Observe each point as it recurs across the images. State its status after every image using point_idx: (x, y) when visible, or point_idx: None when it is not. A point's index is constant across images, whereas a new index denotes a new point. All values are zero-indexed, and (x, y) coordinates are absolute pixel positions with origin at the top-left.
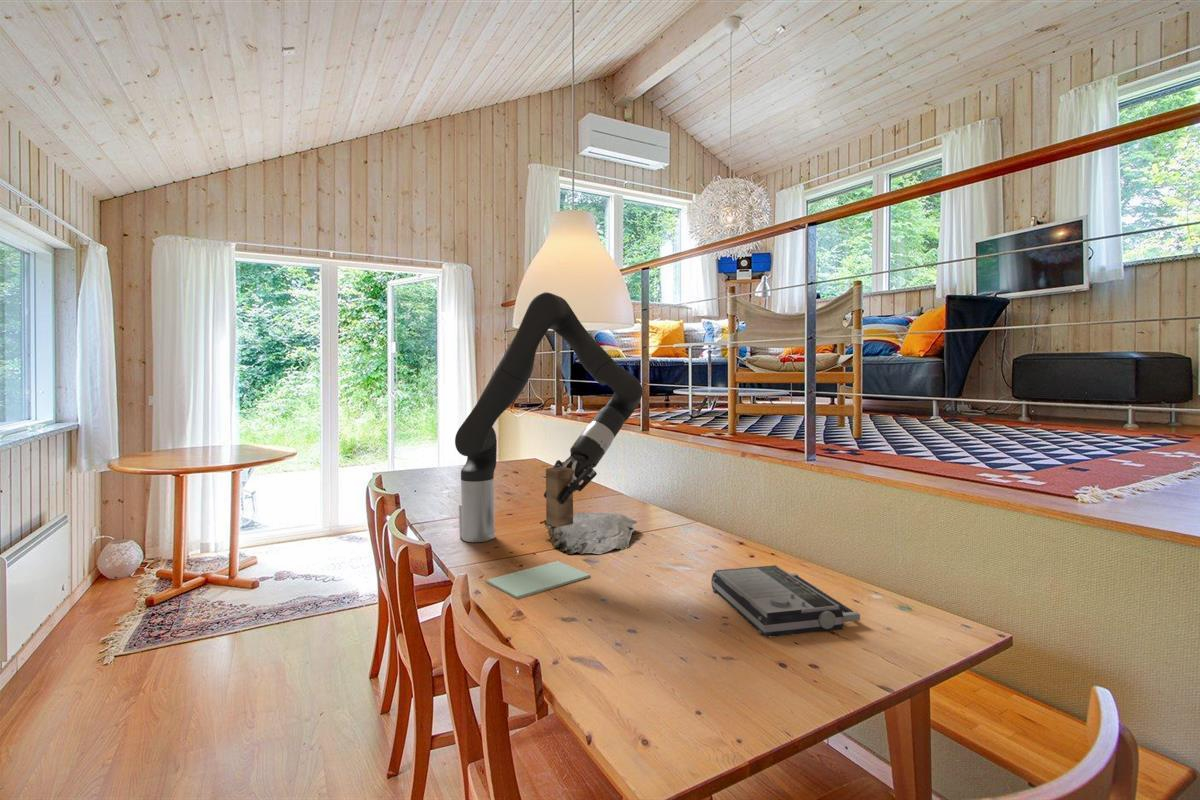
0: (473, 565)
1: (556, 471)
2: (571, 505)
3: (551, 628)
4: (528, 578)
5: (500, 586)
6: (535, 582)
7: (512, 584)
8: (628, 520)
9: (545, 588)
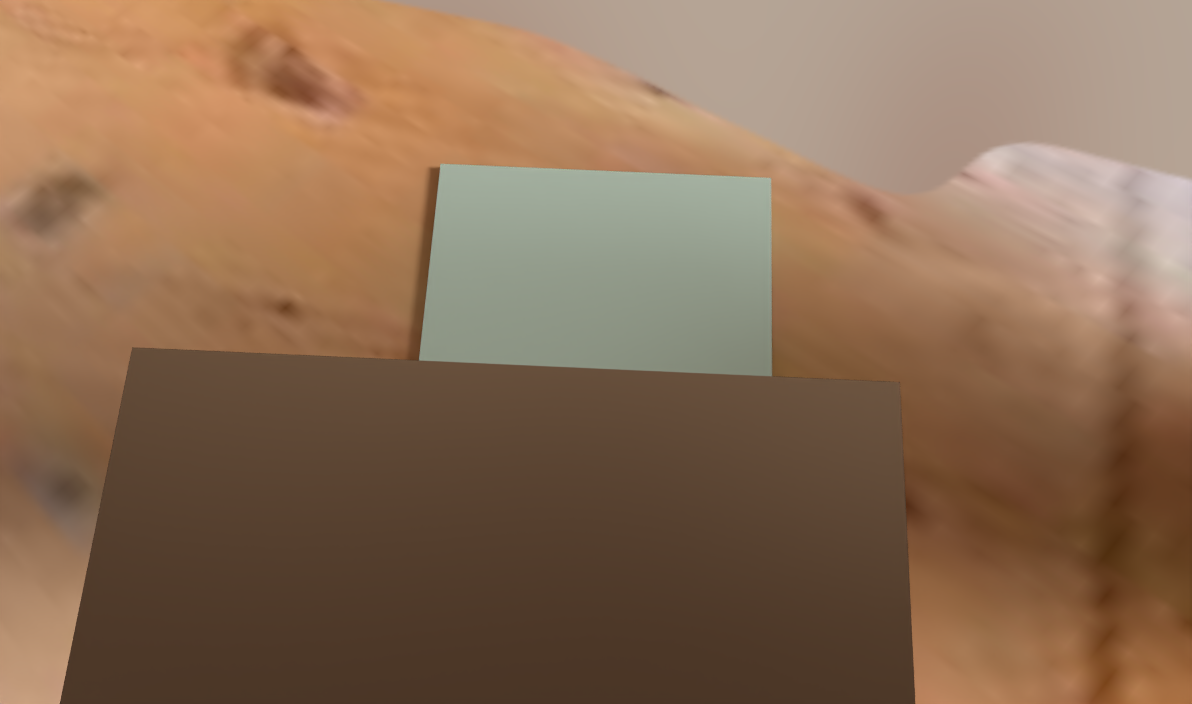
0: (1092, 279)
1: (193, 358)
2: None
3: (56, 93)
4: (618, 362)
5: (624, 180)
6: (534, 354)
7: (602, 241)
8: None
9: (421, 343)
